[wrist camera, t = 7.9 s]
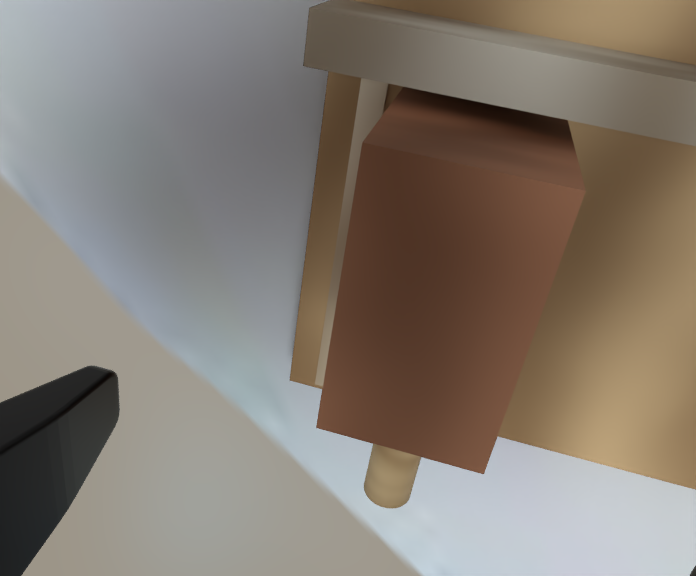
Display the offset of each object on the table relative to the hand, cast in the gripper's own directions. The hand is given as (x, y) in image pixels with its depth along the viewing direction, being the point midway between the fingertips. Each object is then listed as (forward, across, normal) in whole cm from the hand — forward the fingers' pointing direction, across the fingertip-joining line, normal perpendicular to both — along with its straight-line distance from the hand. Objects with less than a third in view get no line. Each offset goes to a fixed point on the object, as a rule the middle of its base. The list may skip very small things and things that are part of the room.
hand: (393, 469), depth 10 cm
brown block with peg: (+10, 0, +2) cm, 10 cm away
